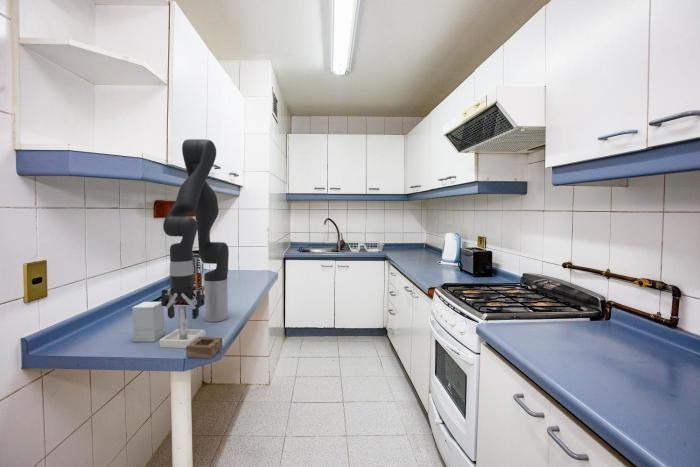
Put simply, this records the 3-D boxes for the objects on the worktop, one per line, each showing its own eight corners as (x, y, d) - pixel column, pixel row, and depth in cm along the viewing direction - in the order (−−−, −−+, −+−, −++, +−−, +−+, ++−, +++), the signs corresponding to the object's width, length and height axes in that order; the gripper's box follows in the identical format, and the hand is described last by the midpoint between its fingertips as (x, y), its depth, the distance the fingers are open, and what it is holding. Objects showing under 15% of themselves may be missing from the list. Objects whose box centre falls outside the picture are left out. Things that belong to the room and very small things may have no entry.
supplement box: (165, 334, 122) (164, 301, 121) (154, 342, 115) (153, 307, 114) (145, 334, 122) (144, 301, 121) (132, 342, 114) (131, 307, 114)
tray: (177, 335, 121) (177, 328, 121) (205, 336, 120) (205, 329, 120) (159, 347, 110) (159, 339, 110) (189, 348, 110) (189, 341, 110)
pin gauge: (182, 337, 117) (181, 305, 116) (189, 338, 116) (188, 305, 116) (177, 340, 114) (177, 307, 113) (184, 341, 114) (184, 307, 113)
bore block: (199, 347, 111) (199, 337, 111) (222, 347, 110) (222, 337, 110) (186, 357, 103) (186, 346, 103) (210, 358, 102) (210, 347, 102)
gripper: (207, 271, 117) (208, 315, 118) (169, 270, 118) (170, 314, 119) (195, 275, 110) (197, 322, 111) (155, 274, 110) (157, 321, 112)
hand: (183, 318), depth 115 cm, fingers open, 8 cm apart
